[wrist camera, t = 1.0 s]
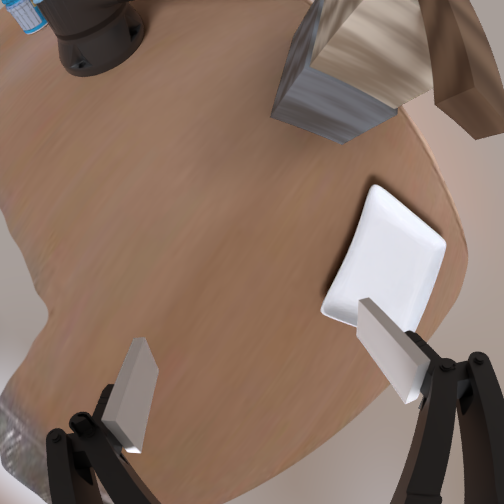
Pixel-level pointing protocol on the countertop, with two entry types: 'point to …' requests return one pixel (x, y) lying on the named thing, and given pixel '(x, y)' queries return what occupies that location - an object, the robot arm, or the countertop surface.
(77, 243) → the countertop surface
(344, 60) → the tower
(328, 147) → the countertop surface
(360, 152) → the countertop surface
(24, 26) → the beverage bottle
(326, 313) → the salad plate
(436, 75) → the walnut bar
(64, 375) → the countertop surface
